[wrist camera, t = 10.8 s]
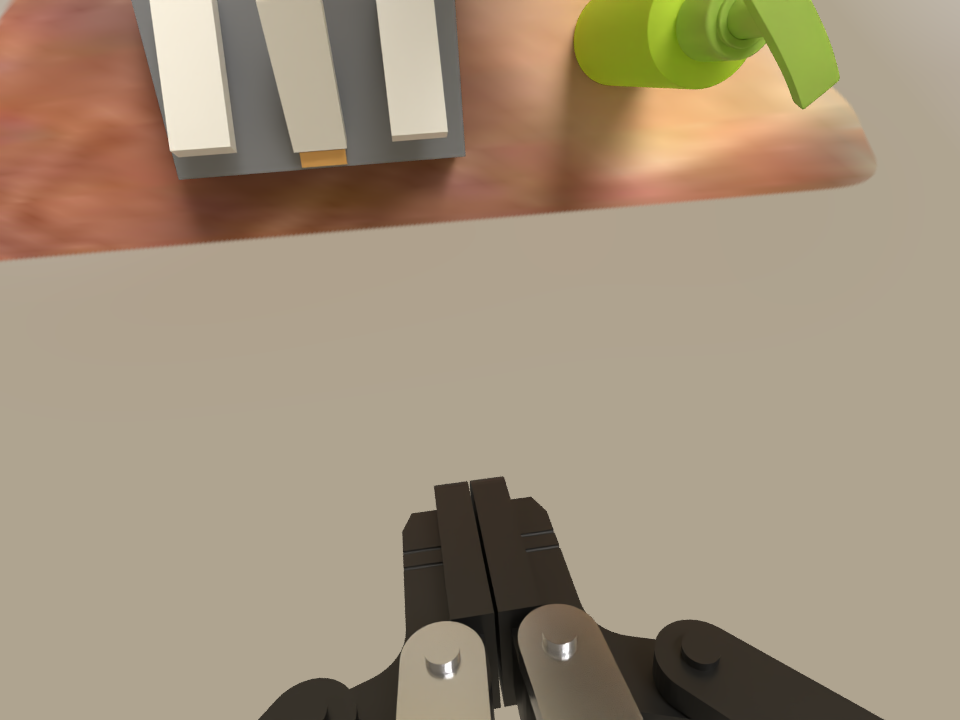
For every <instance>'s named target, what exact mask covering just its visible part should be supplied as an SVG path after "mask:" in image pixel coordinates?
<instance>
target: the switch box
mask: <svg viewBox="0 0 960 720" xmlns="http://www.w3.org/2000/svg"><path fill="white" fill-rule="evenodd" d="M131 1H132V4H133V8H134V12H135V16H136V20H137V23H138V27H139V31H140V35H141V38H142V42H143V46H144V50H145V53H146V57H147V61H148V65H149V69H150V72H151V76H152V80H153V84H154V87H155V91H156V95H157V99H158V103H159V106H160V110H161V114H162V118H163V121H164V125H165V129H166V133H167V125H166V118H165V111H164V103H163V96H162V88H161V81H160V74H159V66H158V59H157V52H156V44H155V37H154V30H153V22H152V15H151V8H150V0H131ZM322 1H323V7H324V12H325V18H326V24H327V29H328V35H329V41H330V46H331V52H332V58H333V63H334V69H335V75H336V80H337V86H338V91H339V97H340V103H341V108H342V114H343V120H344V125H345V131H346V137H347V148H346V149H333V150H321V151H308V152H295V153H294V151H293V147H292V143H291V139H290V135H289V131H288V127H287V123H286V119H285V115H284V111H283V107H282V103H281V100H280V96H279V92H278V88H277V84H276V80H275V76H274V72H273V68H272V64H271V60H270V56H269V52H268V48H267V44H266V40H265V36H264V32H263V28H262V24H261V20H260V16H259V12H258V8H257V4H256V0H217V3H218V11H219V19H220V26H221V34H222V42H223V49H224V57H225V65H226V73H227V80H228V88H229V96H230V103H231V111H232V119H233V127H234V134H235V142H236V150H237V153H228V154H215V155H202V156H189V157H177V156H176V155H175V154H173V153H172V155H173V159H174V163H175V167H176V170H177V174H178V178H179V180H182V179H195V178H207V177H219V176H231V175H243V174H256V173H268V172H280V171H292V170H305V169H317V168H329V167H341V166H354V165H366V164H378V163H390V162H402V161H415V160H427V159H439V158H451V157H464V156H465V141H464V126H463V112H462V97H461V82H460V68H459V53H458V38H457V24H456V9H455V0H434V6H435V16H436V25H437V35H438V44H439V53H440V63H441V72H442V81H443V91H444V100H445V109H446V119H447V128H448V133H447V137H445V138H432V139H419V140H406V141H394V142H392V134H391V125H390V117H389V108H388V99H387V91H386V82H385V73H384V65H383V56H382V48H381V39H380V30H379V22H378V13H377V4H376V0H322ZM167 136H168V133H167Z"/></svg>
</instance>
